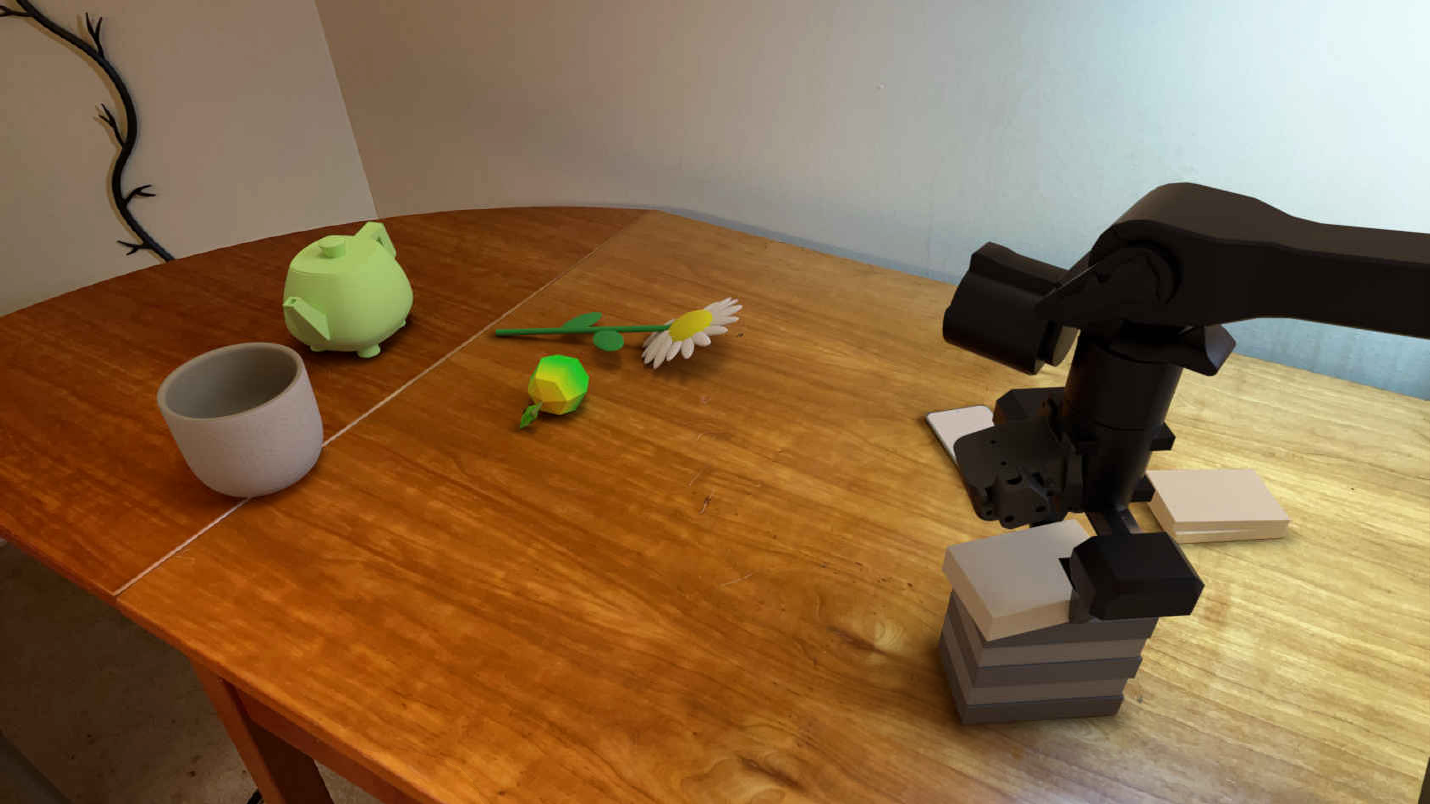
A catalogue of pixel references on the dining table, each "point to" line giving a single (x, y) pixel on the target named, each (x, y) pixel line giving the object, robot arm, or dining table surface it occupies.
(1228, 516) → the beige rectangular slab
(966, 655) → the grey stack
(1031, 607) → the cream block
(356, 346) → the teapot
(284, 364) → the planter
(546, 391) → the apple
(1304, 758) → the dining table surface
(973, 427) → the smartphone
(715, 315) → the decorative flower
